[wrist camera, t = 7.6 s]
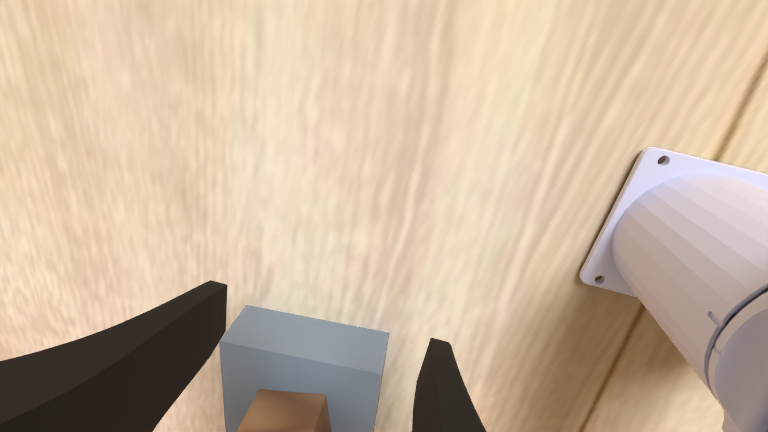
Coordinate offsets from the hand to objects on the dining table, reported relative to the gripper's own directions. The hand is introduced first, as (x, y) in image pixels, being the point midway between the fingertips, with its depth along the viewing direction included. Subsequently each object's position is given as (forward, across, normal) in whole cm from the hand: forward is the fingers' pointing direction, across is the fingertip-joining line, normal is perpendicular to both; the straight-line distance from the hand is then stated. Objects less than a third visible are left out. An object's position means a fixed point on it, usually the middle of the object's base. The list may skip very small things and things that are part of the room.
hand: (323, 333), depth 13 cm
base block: (+11, +2, +14) cm, 17 cm away
